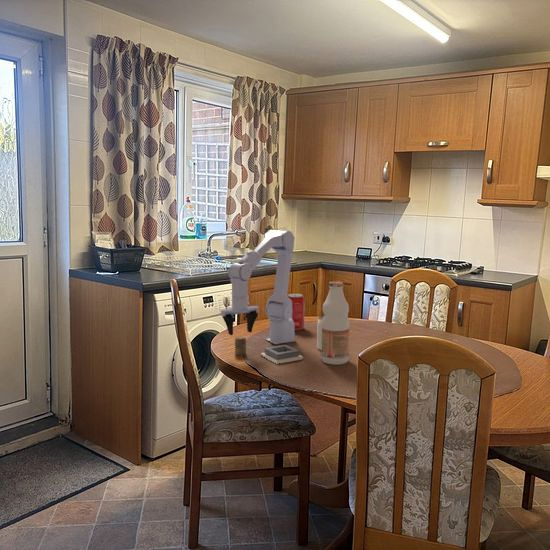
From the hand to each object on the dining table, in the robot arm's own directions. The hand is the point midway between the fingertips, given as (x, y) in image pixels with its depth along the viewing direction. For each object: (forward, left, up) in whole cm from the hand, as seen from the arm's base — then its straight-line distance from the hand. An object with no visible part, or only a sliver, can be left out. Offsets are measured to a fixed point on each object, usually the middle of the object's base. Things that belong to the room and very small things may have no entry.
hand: (240, 333), depth 196 cm
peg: (0, 0, -8) cm, 8 cm away
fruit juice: (-25, +24, -8) cm, 36 cm away
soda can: (-37, -21, -8) cm, 43 cm away
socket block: (-11, +11, -8) cm, 18 cm away
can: (-31, +10, -8) cm, 34 cm away
